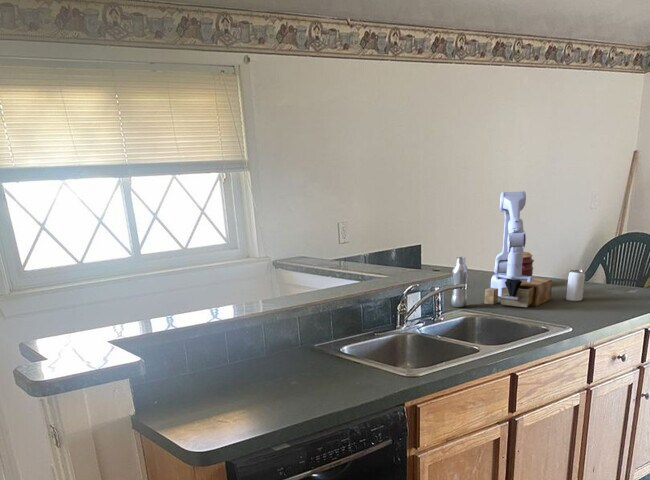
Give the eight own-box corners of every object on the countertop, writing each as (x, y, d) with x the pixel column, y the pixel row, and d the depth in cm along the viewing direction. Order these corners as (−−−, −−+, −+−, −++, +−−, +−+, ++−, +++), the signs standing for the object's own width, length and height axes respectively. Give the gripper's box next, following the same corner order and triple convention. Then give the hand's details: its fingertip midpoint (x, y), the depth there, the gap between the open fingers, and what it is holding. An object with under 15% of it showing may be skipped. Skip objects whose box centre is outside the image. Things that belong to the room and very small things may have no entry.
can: (579, 298, 277) (583, 269, 273) (584, 301, 271) (587, 272, 267) (564, 298, 278) (567, 270, 273) (567, 301, 272) (571, 272, 267)
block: (484, 303, 275) (485, 289, 273) (488, 301, 278) (489, 287, 276) (493, 304, 273) (494, 290, 271) (497, 302, 276) (498, 288, 273)
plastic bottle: (468, 305, 273) (470, 256, 265) (464, 309, 267) (466, 259, 259) (453, 304, 275) (455, 256, 268) (449, 308, 270) (450, 258, 262)
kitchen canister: (502, 288, 303) (505, 249, 296) (503, 283, 314) (506, 245, 307) (531, 289, 299) (535, 249, 292) (532, 284, 310) (535, 245, 303)
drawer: (522, 309, 259) (523, 292, 256) (495, 306, 266) (496, 289, 263) (540, 301, 271) (542, 284, 269) (514, 298, 278) (516, 282, 275)
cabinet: (536, 306, 267) (538, 284, 264) (507, 302, 275) (508, 282, 271) (550, 299, 277) (552, 279, 274) (522, 296, 285) (523, 276, 282)
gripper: (493, 264, 259) (491, 298, 264) (528, 266, 250) (525, 302, 255) (501, 262, 264) (498, 295, 269) (535, 264, 255) (532, 299, 260)
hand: (512, 298), depth 263 cm, fingers closed, pressing on drawer
